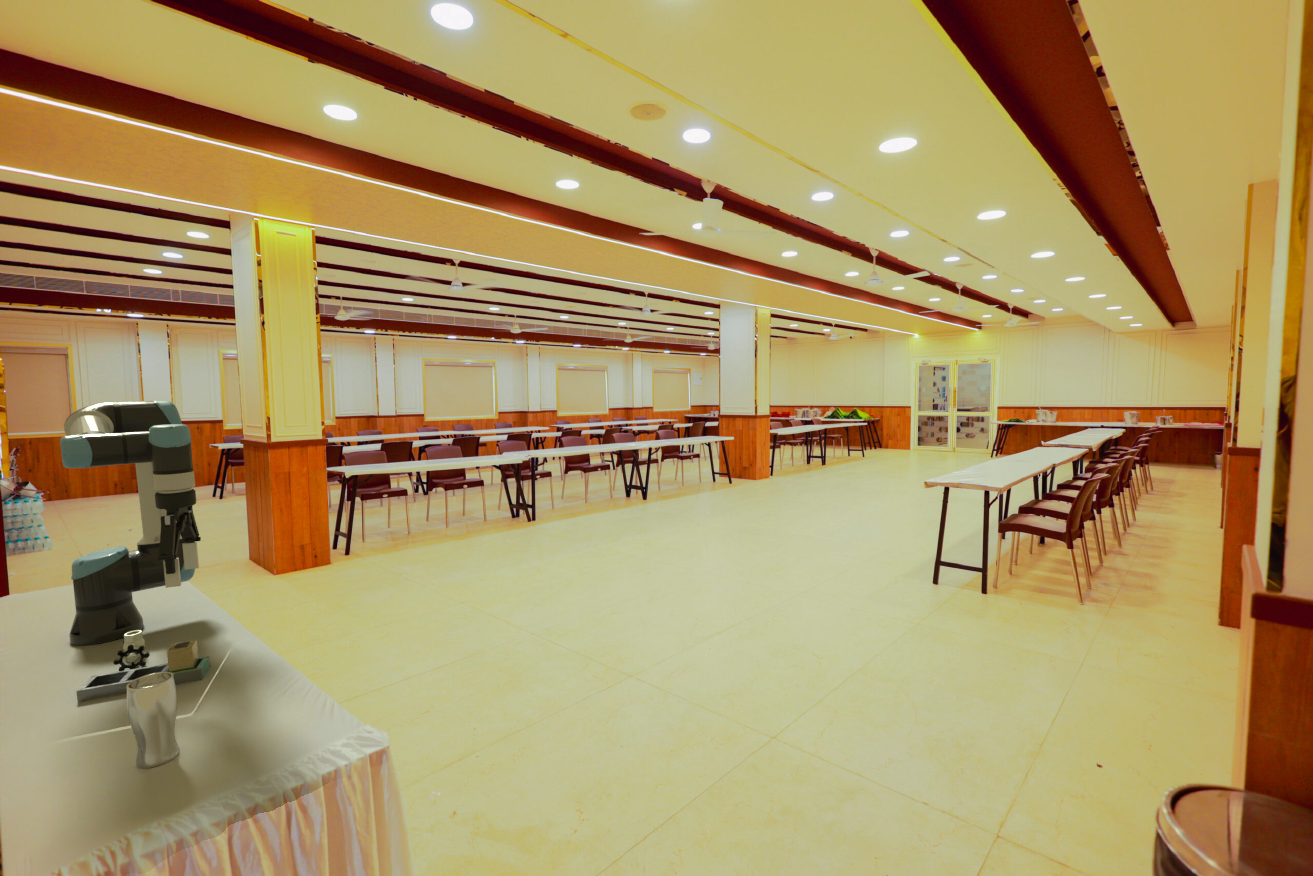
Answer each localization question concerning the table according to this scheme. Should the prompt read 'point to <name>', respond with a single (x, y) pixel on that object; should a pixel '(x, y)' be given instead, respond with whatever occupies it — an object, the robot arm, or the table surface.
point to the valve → (132, 650)
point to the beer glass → (153, 718)
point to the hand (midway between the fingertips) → (183, 577)
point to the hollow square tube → (183, 656)
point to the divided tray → (119, 680)
